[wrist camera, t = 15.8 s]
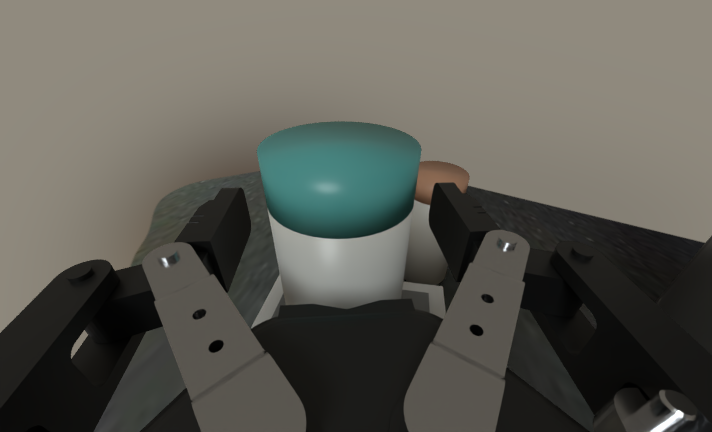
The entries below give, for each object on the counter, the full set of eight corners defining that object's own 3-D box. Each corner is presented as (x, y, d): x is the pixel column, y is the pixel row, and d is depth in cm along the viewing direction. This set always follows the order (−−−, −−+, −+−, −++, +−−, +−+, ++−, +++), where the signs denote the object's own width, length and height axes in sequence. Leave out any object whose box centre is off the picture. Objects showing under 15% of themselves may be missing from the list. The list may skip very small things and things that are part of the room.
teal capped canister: (363, 297, 18) (368, 115, 12) (413, 368, 14) (457, 157, 8) (283, 331, 16) (242, 133, 10) (318, 423, 12) (286, 198, 6)
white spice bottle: (408, 247, 34) (420, 156, 27) (451, 263, 31) (475, 168, 25) (389, 274, 30) (398, 177, 24) (437, 293, 28) (460, 192, 22)
